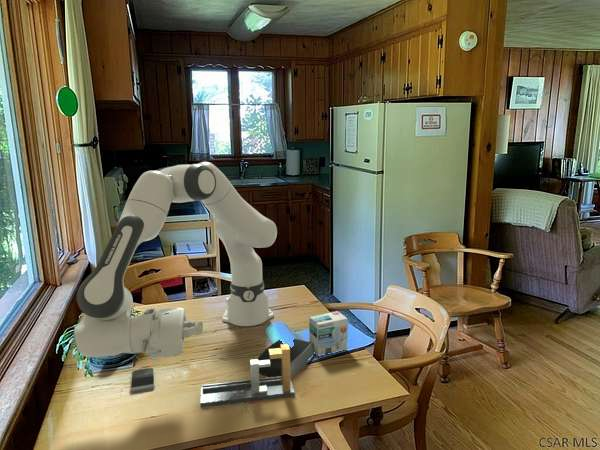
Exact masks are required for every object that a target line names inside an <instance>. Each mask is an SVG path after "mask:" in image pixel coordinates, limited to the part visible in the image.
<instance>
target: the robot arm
mask: <svg viewBox="0 0 600 450" xmlns="http://www.w3.org/2000/svg"><path fill="white" fill-rule="evenodd" d="M195 201H196V202H200V201H201V203H203V206H205V208H206V209H207V210H208V211H209V213H210V214H211V215H212V216H213V217H214V218H215V221H214V232H215V235H217V237H218V238H219V239H220V240H221V242H222V243H223V246H224V248H225V250H226V253H227V256H228V258H229V263H230V275H231V276H230V277H231V278H230V279H231V282H230V287H229V288H230V294H229V296H228V297H225V298H226V299H225V303H226V305H227V306H226V309H225V311H224V314H223V316H222V322H224V323H225V322H226V323H229V324H232V325H233V326H238V327H239V326H240V327H252V326H258V325H261V324H263V323H265V322H266V321H268V320H269V319H272V318H274V317H275V314H274V312H273V311H272V310H271V309H270V304H269V303H270V302H269V295H267V293H266V292H265V283H264V280H263V262H262V259H261V257H260V256H259V255H258V253H256V251H255V249H254V248H257V249H258V248H259V249H261V248H269V247H271V246H272V245H273V244H274V243H275V241H276V239H277V235H278V227H277V225H276V223H275V222H274V221H273V220H271V219H269V218H268V217H266V216H264V215H263V214H262V213H260V212H259V211H258V210H257V209H256V208H254V207H253V206H252V205H250V203H248V202H247V201H246V200H245V199H244V198H243V197H242V196H241V195H240V193H238V191H237V189H236V188H235V187H234V186H233V184H232V183H231V181H230V180H229V178H227V177H226V175H225V173H223V172H222V171H221V169H219V168H218V167H217V166H216V165H215V164H213V163H212V162H209V161H201V162H199V163H192V164H176V165H173V166H168V167H161V168H159V169H156V170H148V171H145V172H143V173H142V174H141V175H140V176H139V178H138V179H137V181H136V182H135V184H134V185H133V187H132V190H131V191H130V193H129V195H128V198H127V200H126V202H125V205H124V208H123V210H122V211H121V215H120V217H119V220H118V222H117V225H116V227H115V229H114V231H113V233H112V234H111V237H110V239H109V240H108V243H107V245H106V246H105V249H104V252H103V254H102V255H101V257H100V260H99V262H98V263H97V265H96V267H95V268H94V269H93V271H91V273H90V274H89V275H87V277H86V278H85V279H84V280H83V281H82V283H81V284H80V285H79V287H78V289H77V293H76V303H77V305H78V308H79V310H80V311H81V312H82V313H83V314H84V315H83V317H82V318H81V321H80V322H79V323H78V324H77V325H76V326H75V328H74V329H73V343H74V345H75V348H76V350H77V352H78V353H79V354H80V355H81V356H84V357H85V358H106V357H108V356H116V355H119V354H121V353H123V354H139V353H142V354H145V355H146V356H151V357H153V358H165V357H166V358H167V357H177V356H180V355H182V354H183V350H184V343H185V342H184V341H185V340H184V339H185V338H190V337H193V336H194V335H197V334H198V335H199V334H202V333H203V332H204V325H203V324H204V323H203V322H202V321H192V320H187V314H186V308H184V307H179V306H176V307H175V306H173V307H162V308H159V309H157V310H156V308H155V307H149V308H147V309H146V310H145V311H144V312H143V313H141V314H139V315H137V316H132V310H133V303H134V301H133V295H132V293H131V291H130V290H129V289H128V288H127V287H126V286H125V285H124V284H125V283H124V281H125V280H124V278H125V275H126V272H127V270H128V267H129V265H130V264H131V260H132V258H133V257H134V254H135V251H136V250H137V248H138V246H139V245H141V244H142V243H143V242H147V241H148V242H149V241H151V240H153V239H155V238H156V237H157V236H158V235H159V233H160V232H161V230H162V229H163V226H164V224H165V222H166V219H167V216H168V215H169V214H168V213H169V211H170V208H171V207H170V206H171V204H172V203H175V204H177V203H178V204H181V203H182V204H183V203H189V202H195Z"/></svg>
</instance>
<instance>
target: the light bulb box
mask: <svg viewBox="0 0 600 450" xmlns="http://www.w3.org/2000/svg"><path fill="white" fill-rule="evenodd" d="M308 320H309V321H308V322H309V323H308V326H309V328H308V333H309V334H308V335H309V336H308V337H309V340H308V342H312V343H313V347H314V352H315V353H316V354H317V355H322V354H328V353H333V352H336V351H340V350H346V349H347V350H348V331H349V330H348V328H349V326H348V325H349V318H347V317H346V316H345V315H344V314H342V313H341V312H340V311H337V310H336V311H332V312H328V313H327V312H326V313H322V314H317V315H313V316H309V318H308ZM316 354H315V355H316ZM333 354H334V353H333ZM317 355H316V356H317Z"/></svg>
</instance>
